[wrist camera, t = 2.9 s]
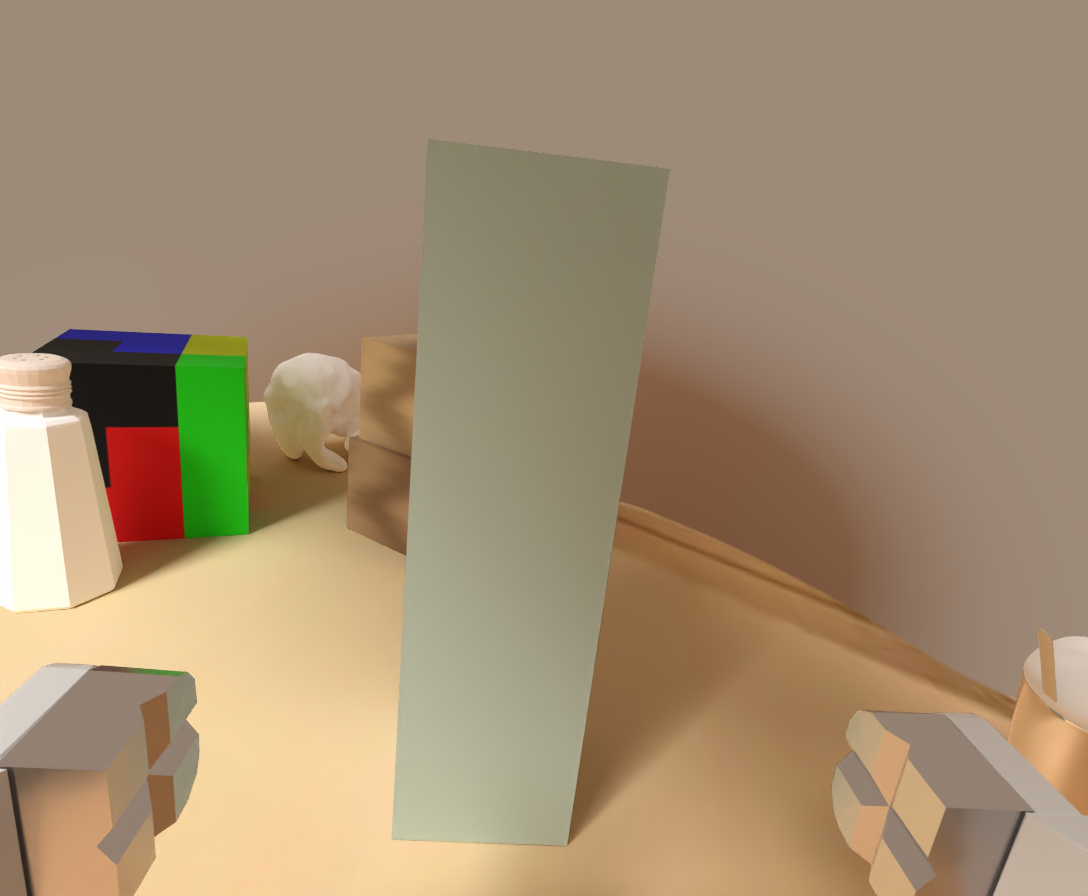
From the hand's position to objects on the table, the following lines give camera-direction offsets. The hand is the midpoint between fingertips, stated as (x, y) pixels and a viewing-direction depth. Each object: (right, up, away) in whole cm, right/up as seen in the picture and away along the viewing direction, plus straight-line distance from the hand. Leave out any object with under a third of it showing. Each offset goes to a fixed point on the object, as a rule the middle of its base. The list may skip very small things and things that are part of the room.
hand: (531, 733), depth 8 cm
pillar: (-2, -8, +15) cm, 17 cm away
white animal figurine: (-16, +3, +46) cm, 49 cm away
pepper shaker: (-23, -3, +24) cm, 33 cm away
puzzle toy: (-24, 0, +33) cm, 41 cm away
